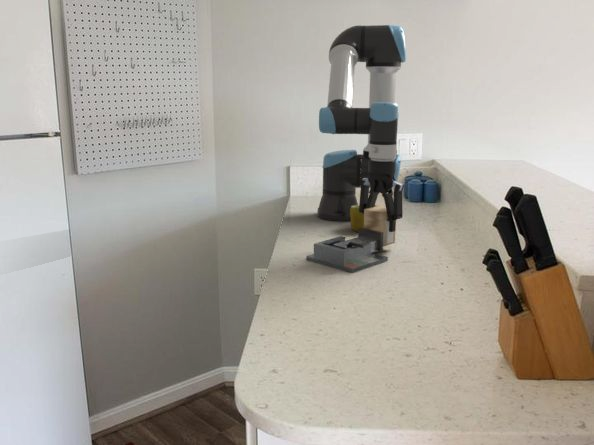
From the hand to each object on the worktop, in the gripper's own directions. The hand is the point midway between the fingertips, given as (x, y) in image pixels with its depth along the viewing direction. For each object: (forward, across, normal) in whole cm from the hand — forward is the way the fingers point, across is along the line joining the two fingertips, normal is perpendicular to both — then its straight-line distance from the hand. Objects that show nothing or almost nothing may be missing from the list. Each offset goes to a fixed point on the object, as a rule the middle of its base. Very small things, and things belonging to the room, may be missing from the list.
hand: (379, 240), depth 168 cm
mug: (+3, -18, +16) cm, 25 cm away
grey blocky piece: (+2, +1, -10) cm, 10 cm away
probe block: (+1, 0, 0) cm, 1 cm away
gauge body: (+3, 0, -14) cm, 14 cm away
